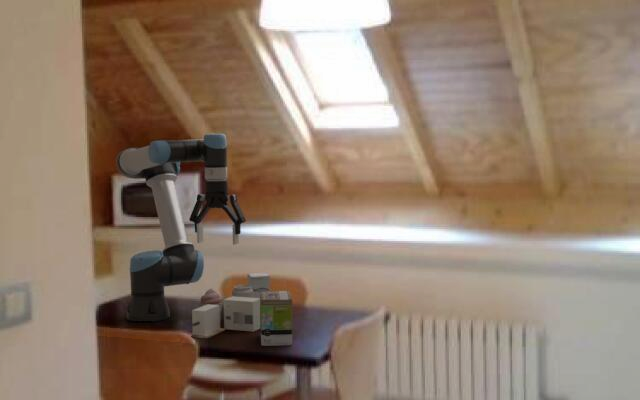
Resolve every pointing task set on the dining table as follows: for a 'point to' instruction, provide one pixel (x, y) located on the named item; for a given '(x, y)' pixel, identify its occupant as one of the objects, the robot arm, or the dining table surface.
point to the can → (243, 291)
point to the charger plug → (206, 319)
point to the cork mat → (209, 334)
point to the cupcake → (211, 299)
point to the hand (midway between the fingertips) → (217, 243)
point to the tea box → (276, 318)
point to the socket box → (242, 313)
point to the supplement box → (259, 283)
